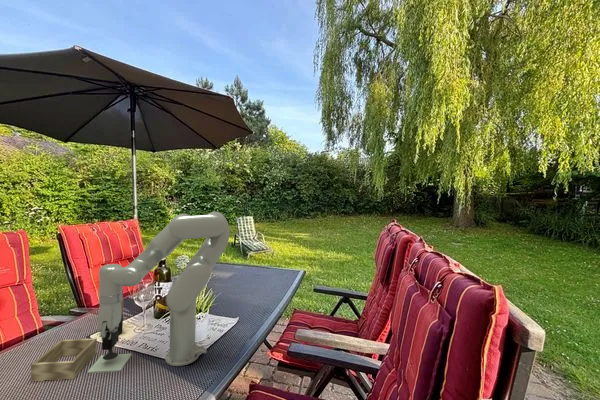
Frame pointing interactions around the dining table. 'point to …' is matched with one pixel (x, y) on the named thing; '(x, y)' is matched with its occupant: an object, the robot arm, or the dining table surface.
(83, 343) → the crate
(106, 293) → the robot arm
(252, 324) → the dining table surface
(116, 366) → the mat
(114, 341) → the sundae
